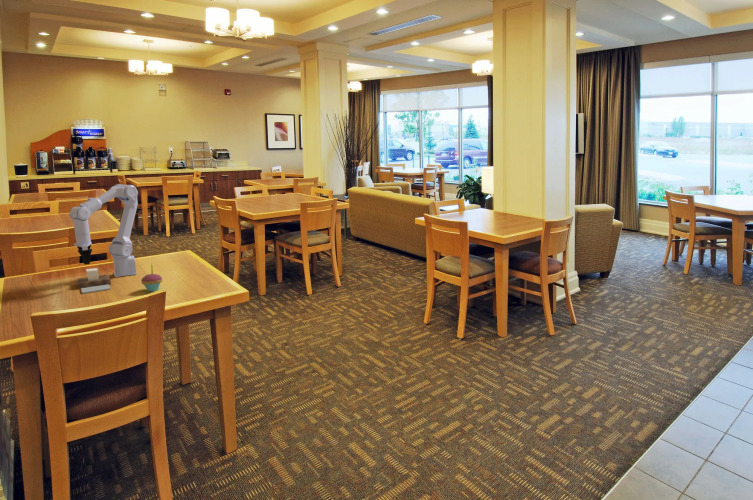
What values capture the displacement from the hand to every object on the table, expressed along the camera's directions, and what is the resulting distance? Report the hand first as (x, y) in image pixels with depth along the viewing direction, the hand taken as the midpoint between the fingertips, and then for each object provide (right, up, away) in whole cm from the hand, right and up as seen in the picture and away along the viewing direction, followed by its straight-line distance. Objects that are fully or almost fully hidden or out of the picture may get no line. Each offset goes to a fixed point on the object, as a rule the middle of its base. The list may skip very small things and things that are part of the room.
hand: (86, 262), depth 234 cm
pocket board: (+2, -10, +2) cm, 11 cm away
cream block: (+2, -10, +2) cm, 11 cm away
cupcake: (+33, -12, -6) cm, 36 cm away
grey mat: (+7, -12, -6) cm, 15 cm away
